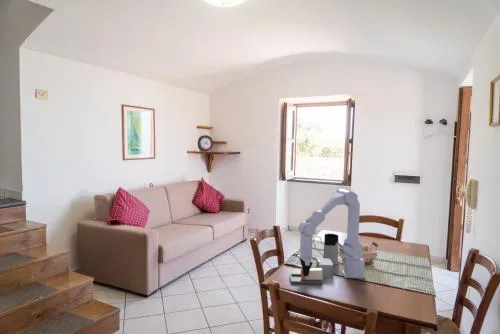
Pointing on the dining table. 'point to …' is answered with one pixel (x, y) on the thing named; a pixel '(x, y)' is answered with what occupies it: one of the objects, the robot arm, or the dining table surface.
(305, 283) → the tray
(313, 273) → the pink-topped cream pillar
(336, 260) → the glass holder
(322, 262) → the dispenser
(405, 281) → the dining table surface
